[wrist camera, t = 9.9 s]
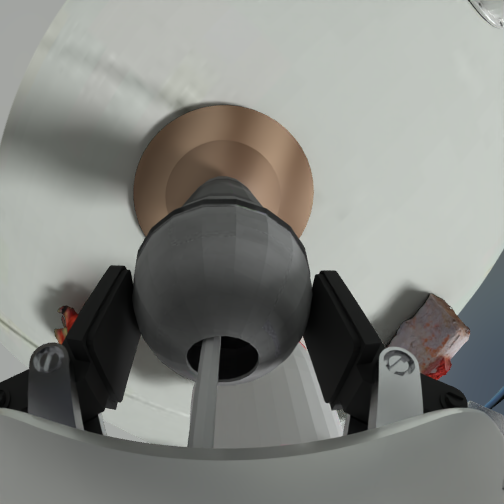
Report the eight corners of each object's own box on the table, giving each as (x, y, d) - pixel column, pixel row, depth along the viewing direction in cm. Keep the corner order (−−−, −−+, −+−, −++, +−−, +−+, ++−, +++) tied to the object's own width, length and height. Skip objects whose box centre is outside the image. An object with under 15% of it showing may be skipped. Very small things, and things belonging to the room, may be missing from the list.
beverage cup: (204, 259, 23) (191, 525, 5) (160, 186, 20) (-7, 442, 2) (282, 222, 22) (405, 480, 5) (244, 141, 19) (446, 371, 1)
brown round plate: (319, 115, 21) (323, 115, 20) (297, 274, 28) (300, 279, 27) (136, 108, 20) (132, 107, 19) (143, 270, 27) (141, 276, 26)
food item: (395, 363, 39) (419, 406, 30) (367, 356, 37) (392, 406, 28) (448, 302, 34) (483, 341, 25) (425, 286, 32) (466, 331, 23)
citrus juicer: (175, 380, 35) (165, 511, 17) (219, 290, 28) (222, 486, 11) (271, 400, 39) (292, 513, 21) (336, 326, 32) (398, 467, 15)
